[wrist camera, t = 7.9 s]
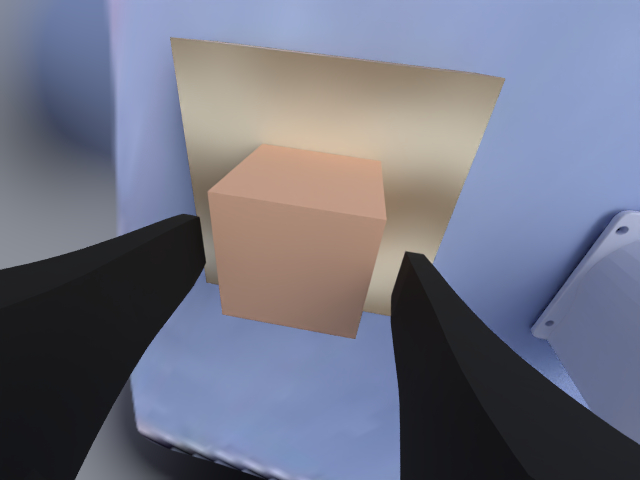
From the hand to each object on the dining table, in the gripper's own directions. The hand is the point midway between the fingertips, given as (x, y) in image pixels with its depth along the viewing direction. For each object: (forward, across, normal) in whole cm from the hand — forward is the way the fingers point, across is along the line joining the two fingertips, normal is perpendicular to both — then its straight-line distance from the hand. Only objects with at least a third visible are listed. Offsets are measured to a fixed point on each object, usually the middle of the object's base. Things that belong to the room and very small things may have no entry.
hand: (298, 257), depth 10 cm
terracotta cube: (+4, 0, 0) cm, 4 cm away
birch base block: (+8, 0, 0) cm, 8 cm away
